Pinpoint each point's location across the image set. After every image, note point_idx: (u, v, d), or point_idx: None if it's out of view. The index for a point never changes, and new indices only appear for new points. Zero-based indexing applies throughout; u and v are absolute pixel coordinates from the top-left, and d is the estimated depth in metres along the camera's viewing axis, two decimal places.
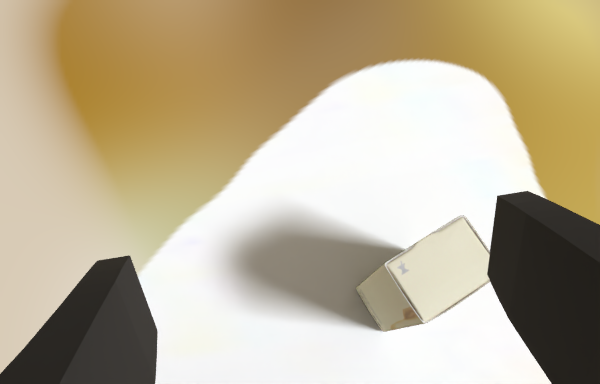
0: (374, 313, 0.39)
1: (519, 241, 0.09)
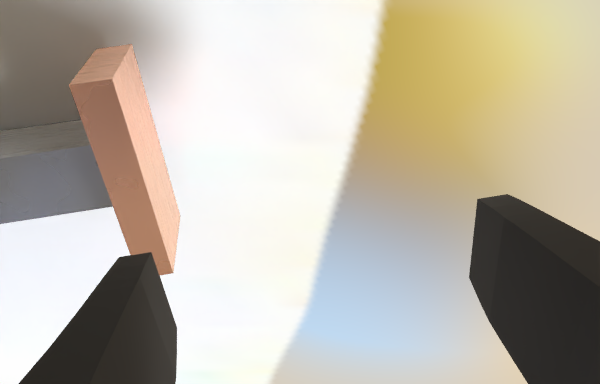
0: None
1: (498, 244, 0.09)
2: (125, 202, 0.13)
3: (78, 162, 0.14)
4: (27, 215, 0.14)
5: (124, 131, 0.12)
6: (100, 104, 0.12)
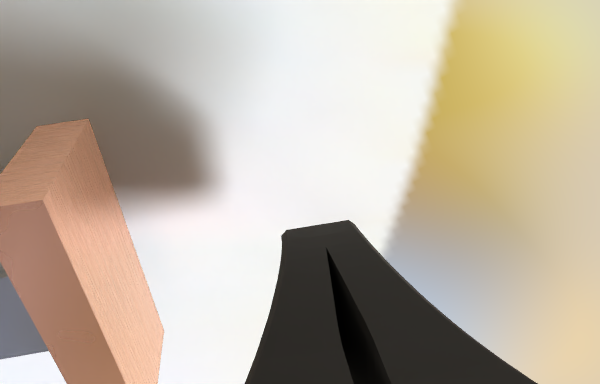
0: None
1: None
2: (75, 360, 0.09)
3: (8, 295, 0.09)
4: None
5: (68, 271, 0.08)
6: (26, 235, 0.08)
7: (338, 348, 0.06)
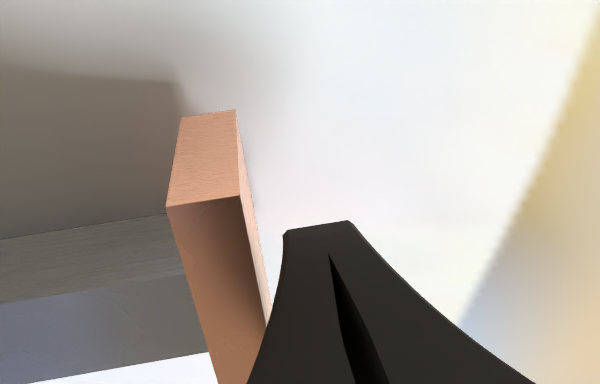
0: None
1: None
2: (234, 366, 0.08)
3: (158, 297, 0.09)
4: (75, 370, 0.09)
5: (248, 272, 0.07)
6: (215, 234, 0.07)
7: (339, 348, 0.06)
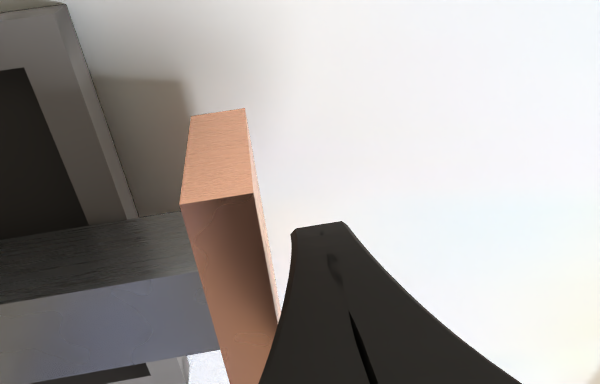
0: None
1: None
2: (246, 364, 0.09)
3: (169, 296, 0.09)
4: (85, 368, 0.09)
5: (261, 269, 0.07)
6: (228, 232, 0.07)
7: (352, 346, 0.06)
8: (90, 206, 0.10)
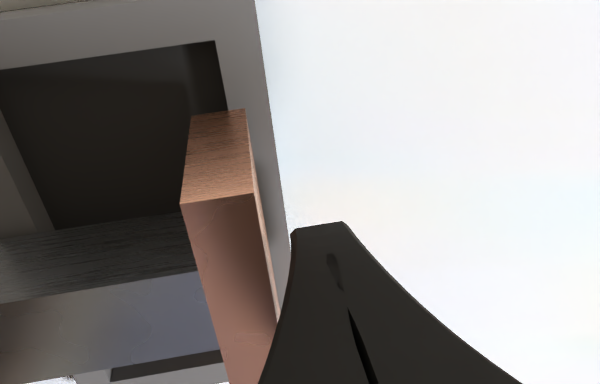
0: None
1: None
2: (245, 363, 0.09)
3: (169, 295, 0.09)
4: (84, 368, 0.09)
5: (261, 269, 0.07)
6: (228, 231, 0.07)
7: (351, 346, 0.06)
8: None
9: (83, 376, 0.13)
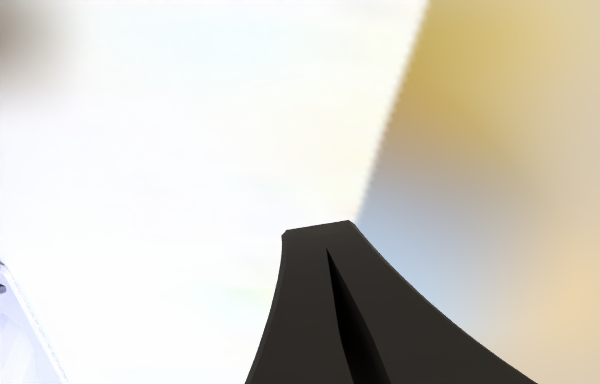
0: None
1: None
2: None
3: None
4: None
5: None
6: None
7: (338, 348, 0.06)
8: None
9: None
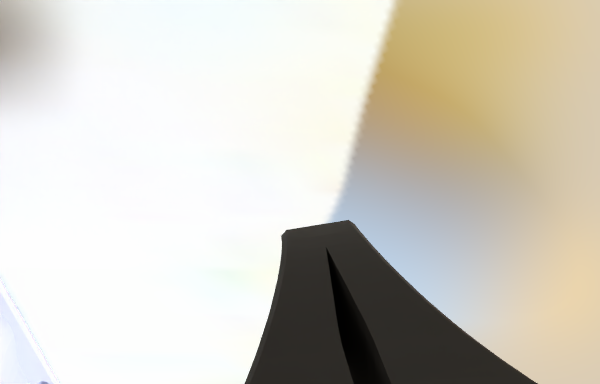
0: None
1: None
2: None
3: None
4: None
5: None
6: None
7: (338, 348, 0.06)
8: None
9: None
